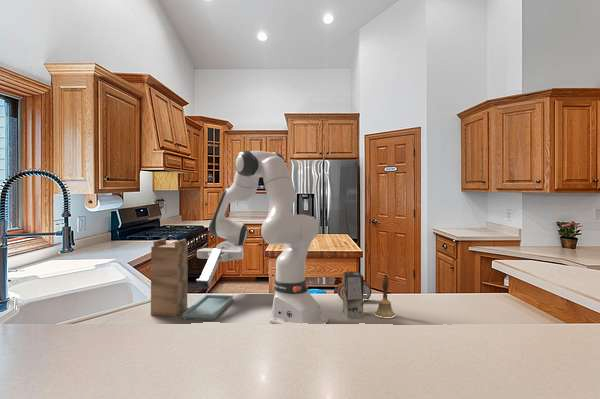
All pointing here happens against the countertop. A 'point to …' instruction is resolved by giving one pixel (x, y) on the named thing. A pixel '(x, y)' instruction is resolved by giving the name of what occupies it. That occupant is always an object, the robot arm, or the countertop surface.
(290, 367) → the countertop surface
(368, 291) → the tin
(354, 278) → the coffee box
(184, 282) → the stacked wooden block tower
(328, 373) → the countertop surface
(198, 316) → the tray
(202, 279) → the gray rectangular bar
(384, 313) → the hand bell
